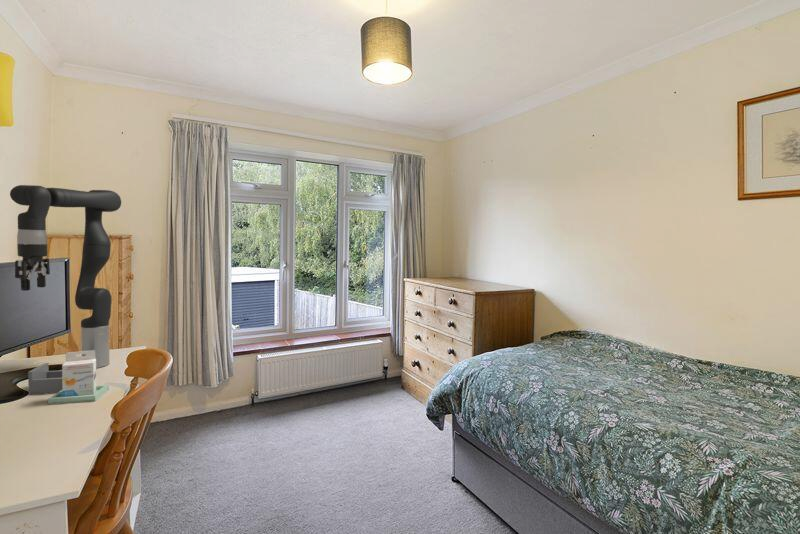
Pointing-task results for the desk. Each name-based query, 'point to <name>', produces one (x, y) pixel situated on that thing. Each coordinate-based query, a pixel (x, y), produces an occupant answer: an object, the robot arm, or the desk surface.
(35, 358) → the desk surface
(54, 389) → the bay
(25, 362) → the desk surface
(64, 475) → the desk surface
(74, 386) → the ink box
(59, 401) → the tray
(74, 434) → the desk surface
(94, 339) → the robot arm
